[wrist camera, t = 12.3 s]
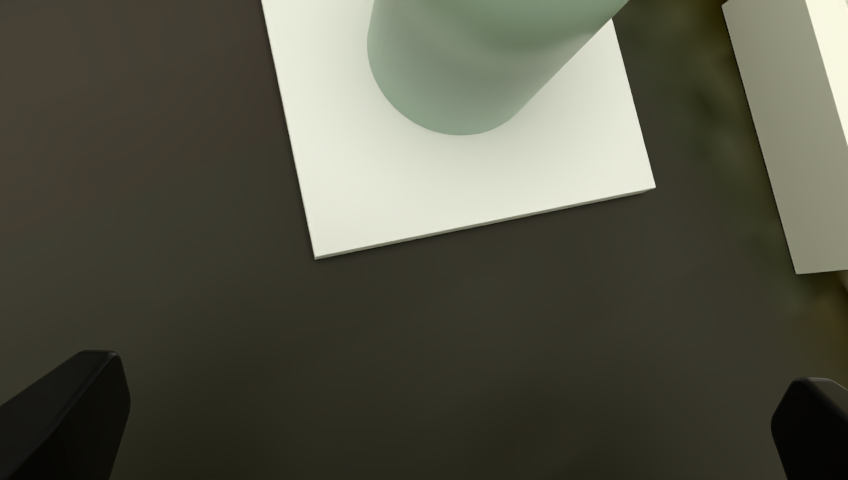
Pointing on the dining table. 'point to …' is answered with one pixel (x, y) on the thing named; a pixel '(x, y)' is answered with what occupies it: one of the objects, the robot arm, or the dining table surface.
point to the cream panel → (441, 139)
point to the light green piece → (475, 55)
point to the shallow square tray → (800, 117)
